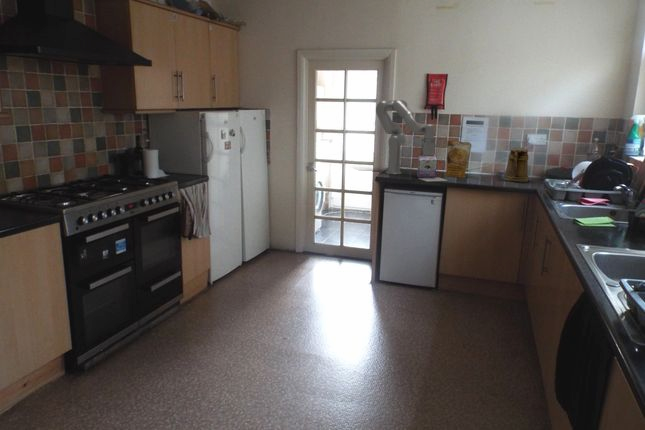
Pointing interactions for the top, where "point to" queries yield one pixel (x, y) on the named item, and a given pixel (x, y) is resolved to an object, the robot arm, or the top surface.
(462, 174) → the pancake mix bag
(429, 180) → the mat
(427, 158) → the candy box
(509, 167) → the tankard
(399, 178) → the top surface
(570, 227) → the top surface
